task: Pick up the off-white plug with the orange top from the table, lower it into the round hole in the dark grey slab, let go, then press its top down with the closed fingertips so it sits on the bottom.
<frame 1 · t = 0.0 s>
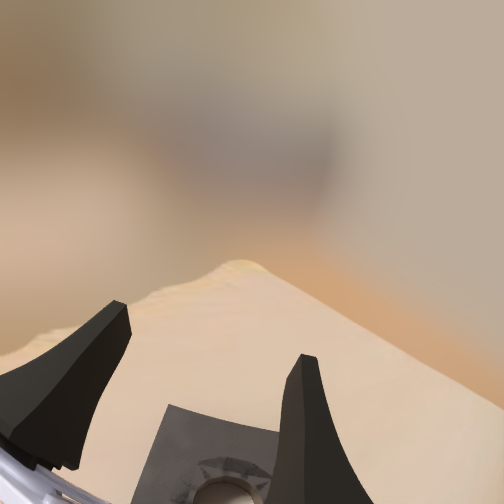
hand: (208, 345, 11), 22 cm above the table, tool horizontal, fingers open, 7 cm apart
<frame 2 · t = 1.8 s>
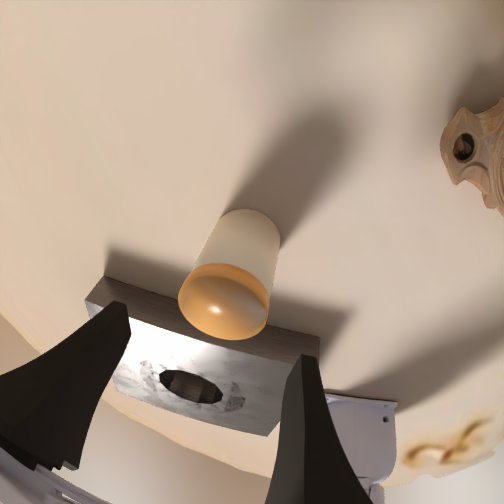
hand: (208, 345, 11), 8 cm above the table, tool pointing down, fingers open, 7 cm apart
plug: (246, 238, 18), on the table
dark grey slab: (199, 362, 27), on the table
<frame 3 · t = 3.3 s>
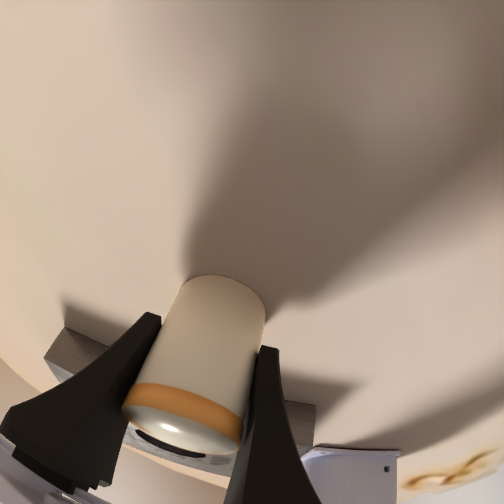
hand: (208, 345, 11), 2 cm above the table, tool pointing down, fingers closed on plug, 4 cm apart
plug: (220, 310, 13), on the table, touching gripper
dark grey slab: (180, 415, 22), on the table
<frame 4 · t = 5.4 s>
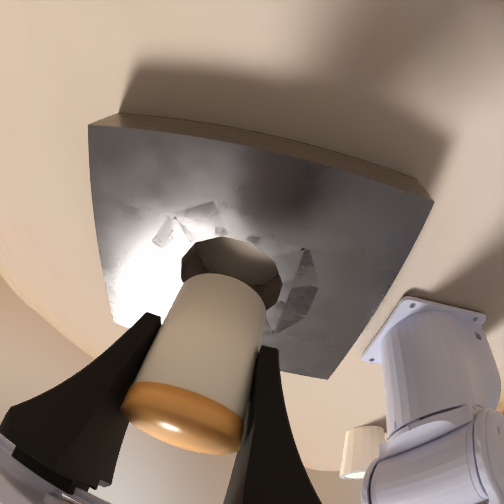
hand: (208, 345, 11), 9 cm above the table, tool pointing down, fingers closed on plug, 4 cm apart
plug: (220, 308, 13), point 7 cm above the table, touching gripper
cream tapered cylinder: (364, 431, 35), on the table
dark grey slab: (239, 252, 20), on the table
when the fingers open (4 cm above the table, at t = 7.3 s): plug drops 2 cm, resting in dark grey slab.
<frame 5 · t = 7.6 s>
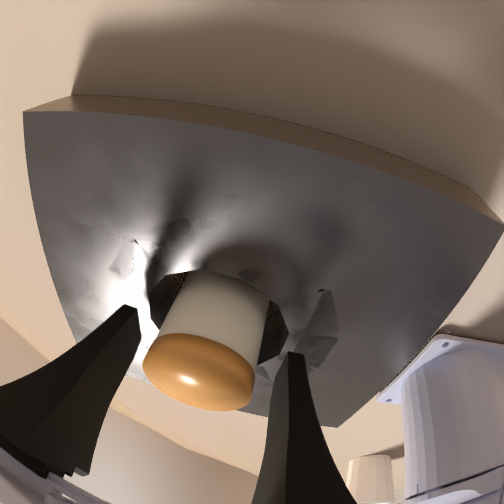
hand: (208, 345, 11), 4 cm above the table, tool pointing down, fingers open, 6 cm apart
plug: (231, 280, 15), resting in dark grey slab
cream tapered cylinder: (369, 458, 30), on the table
dark grey slab: (230, 281, 15), on the table
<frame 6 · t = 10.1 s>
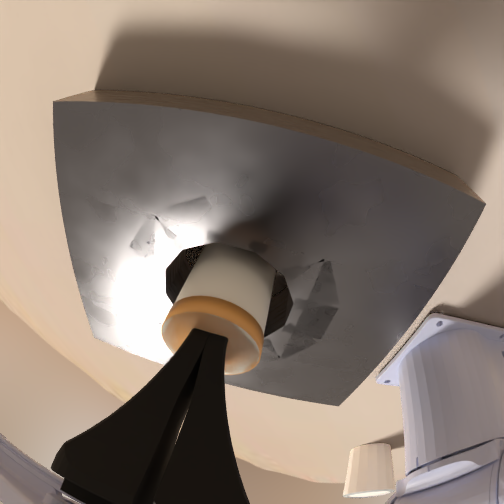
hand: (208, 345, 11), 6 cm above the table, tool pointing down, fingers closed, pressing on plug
plug: (240, 258, 16), resting in dark grey slab, touching gripper
cream tapered cylinder: (370, 448, 31), on the table
dark grey slab: (239, 260, 16), on the table
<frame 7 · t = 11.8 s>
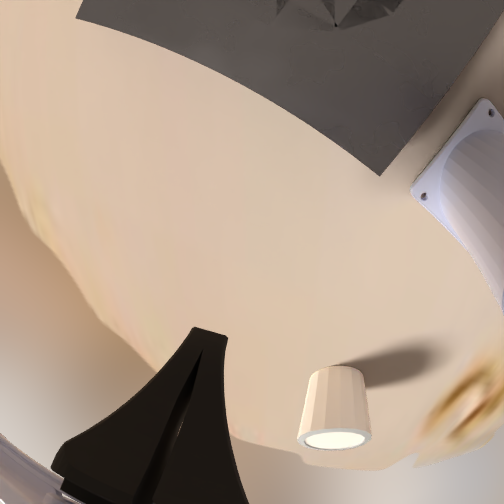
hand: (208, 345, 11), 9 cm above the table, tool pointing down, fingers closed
cream tapered cylinder: (336, 378, 28), on the table
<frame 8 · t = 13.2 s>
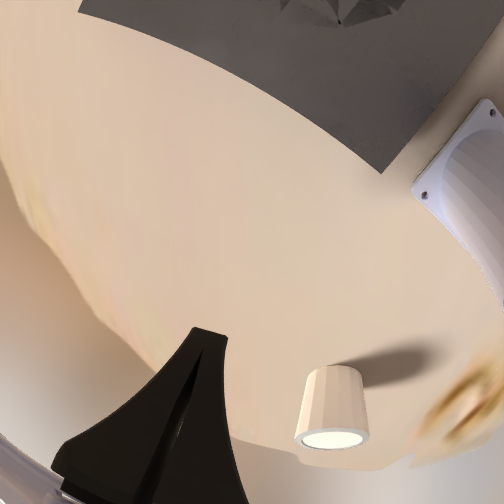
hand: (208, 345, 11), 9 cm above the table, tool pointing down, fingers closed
cream tapered cylinder: (334, 378, 28), on the table
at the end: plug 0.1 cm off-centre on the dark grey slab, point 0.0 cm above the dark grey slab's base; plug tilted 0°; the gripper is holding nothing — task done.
